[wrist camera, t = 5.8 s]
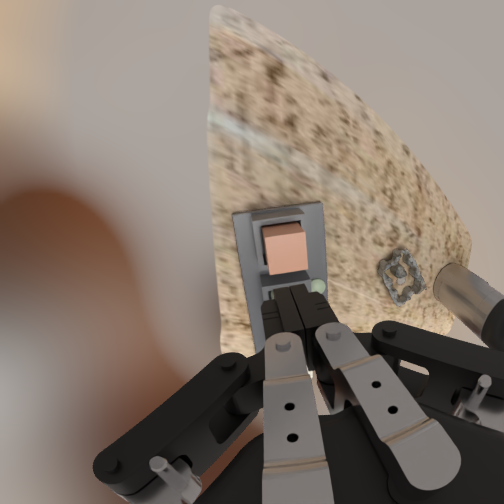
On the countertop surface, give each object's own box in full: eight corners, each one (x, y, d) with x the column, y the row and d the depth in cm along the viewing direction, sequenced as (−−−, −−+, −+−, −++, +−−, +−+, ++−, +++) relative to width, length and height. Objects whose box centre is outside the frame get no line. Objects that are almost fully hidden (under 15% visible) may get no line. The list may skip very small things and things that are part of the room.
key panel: (319, 201, 43) (331, 208, 37) (325, 342, 52) (333, 361, 46) (232, 213, 43) (231, 222, 37) (256, 353, 52) (258, 374, 46)
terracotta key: (295, 220, 39) (305, 231, 33) (299, 253, 41) (308, 269, 35) (261, 225, 39) (264, 237, 33) (265, 258, 41) (269, 275, 35)
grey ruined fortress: (418, 282, 49) (428, 290, 45) (390, 303, 50) (399, 313, 46) (402, 241, 46) (414, 248, 42) (372, 264, 47) (381, 273, 43)
